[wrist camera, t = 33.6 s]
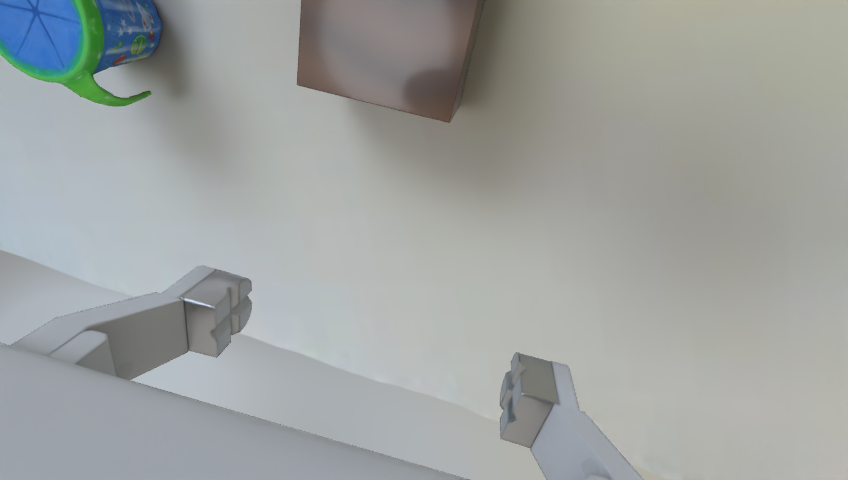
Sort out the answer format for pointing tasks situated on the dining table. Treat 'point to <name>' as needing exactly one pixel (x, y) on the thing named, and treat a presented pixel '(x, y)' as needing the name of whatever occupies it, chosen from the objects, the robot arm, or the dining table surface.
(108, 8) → the snack cup
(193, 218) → the dining table surface
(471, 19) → the cabinet
